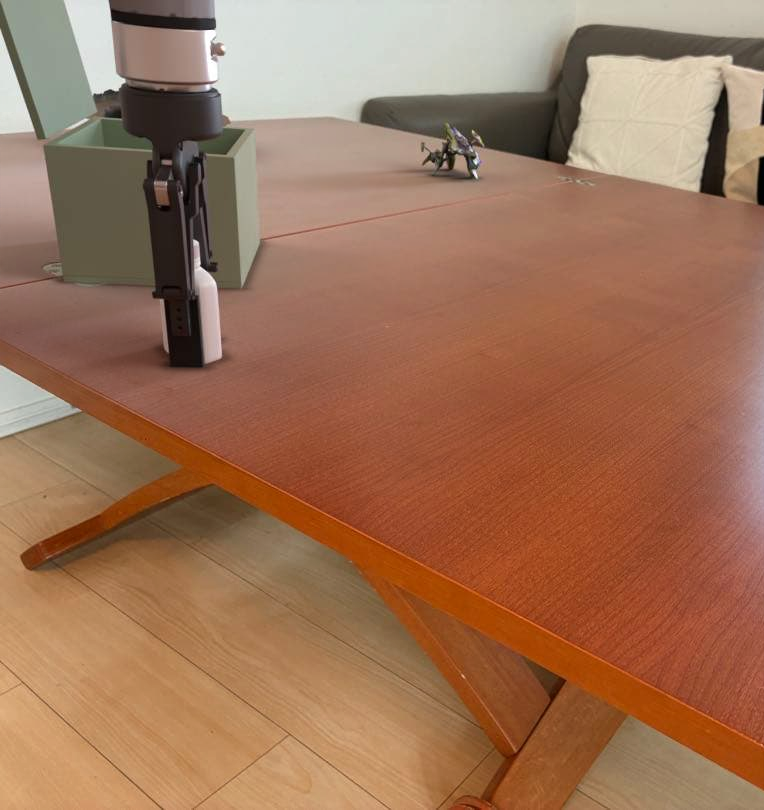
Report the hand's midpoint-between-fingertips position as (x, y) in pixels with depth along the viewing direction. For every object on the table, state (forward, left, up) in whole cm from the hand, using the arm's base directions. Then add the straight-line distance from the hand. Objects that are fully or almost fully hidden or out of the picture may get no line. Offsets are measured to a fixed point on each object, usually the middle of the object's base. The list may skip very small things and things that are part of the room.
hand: (193, 352), depth 78 cm
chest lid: (-17, +27, +24) cm, 40 cm away
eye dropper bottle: (0, 0, -1) cm, 1 cm away
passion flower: (+31, +85, -1) cm, 90 cm away
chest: (-7, +27, 0) cm, 28 cm away
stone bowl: (-21, +90, 0) cm, 92 cm away
